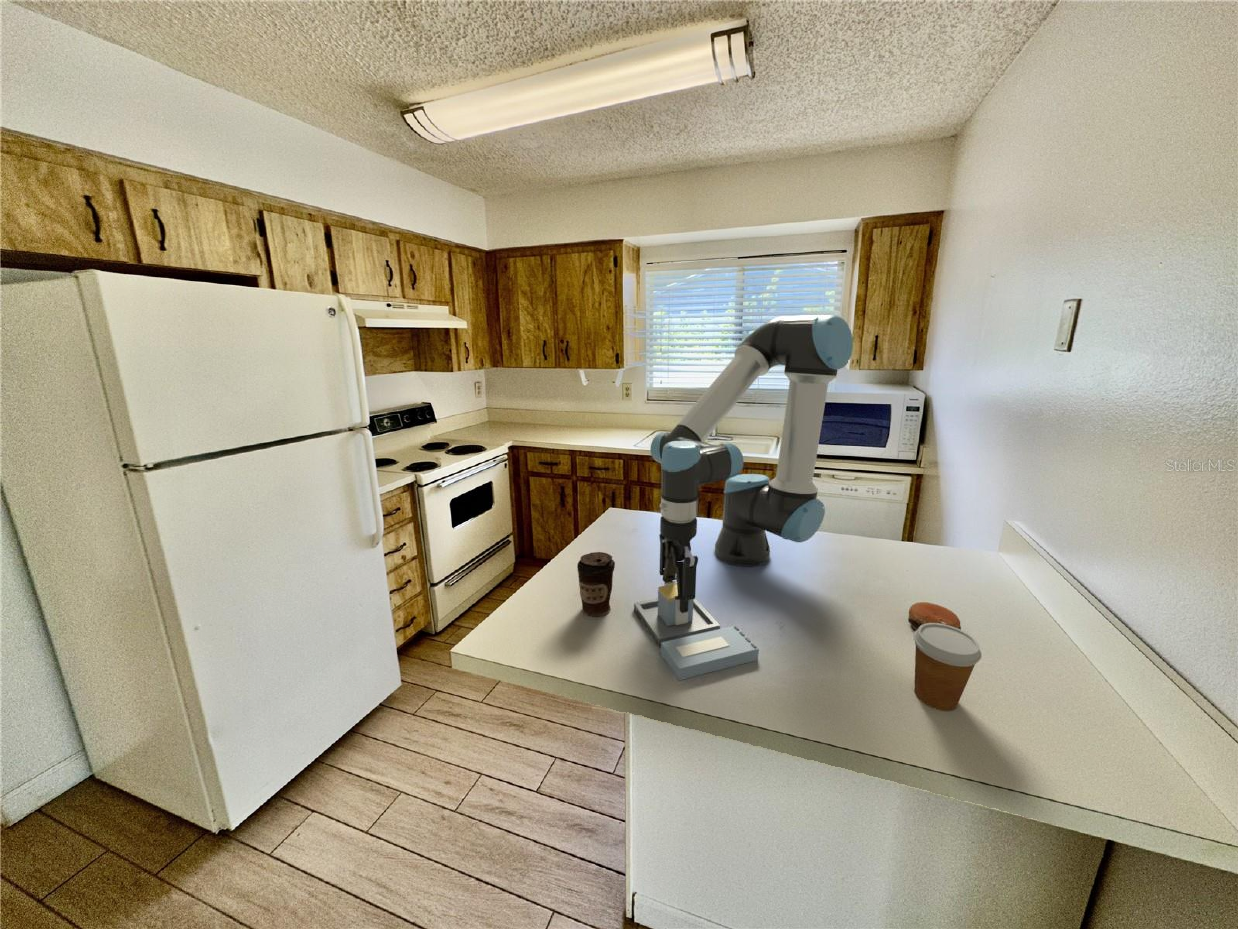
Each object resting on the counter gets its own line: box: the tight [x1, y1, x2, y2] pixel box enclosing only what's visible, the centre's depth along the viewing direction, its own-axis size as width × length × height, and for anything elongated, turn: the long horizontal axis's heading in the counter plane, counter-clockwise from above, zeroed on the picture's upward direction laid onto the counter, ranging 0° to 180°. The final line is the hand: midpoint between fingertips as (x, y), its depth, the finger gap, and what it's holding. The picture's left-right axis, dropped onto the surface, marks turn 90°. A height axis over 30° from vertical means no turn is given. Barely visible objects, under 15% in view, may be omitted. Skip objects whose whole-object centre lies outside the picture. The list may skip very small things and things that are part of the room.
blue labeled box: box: [660, 625, 760, 681], centre depth 94 cm, size 17×8×3 cm, turn 109°
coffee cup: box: [576, 551, 616, 617], centre depth 108 cm, size 9×8×13 cm
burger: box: [907, 601, 962, 631], centre depth 102 cm, size 10×9×5 cm
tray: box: [633, 597, 721, 648], centre depth 105 cm, size 14×14×2 cm
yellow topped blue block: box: [657, 584, 694, 626], centre depth 104 cm, size 6×5×7 cm
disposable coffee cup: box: [913, 623, 983, 712], centre depth 82 cm, size 10×10×12 cm
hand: (675, 615), depth 105 cm, fingers closed on yellow topped blue block, 5 cm apart
